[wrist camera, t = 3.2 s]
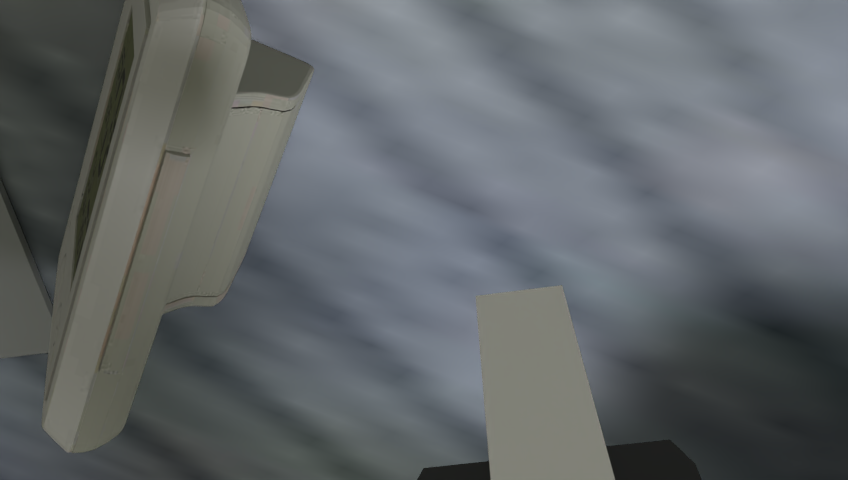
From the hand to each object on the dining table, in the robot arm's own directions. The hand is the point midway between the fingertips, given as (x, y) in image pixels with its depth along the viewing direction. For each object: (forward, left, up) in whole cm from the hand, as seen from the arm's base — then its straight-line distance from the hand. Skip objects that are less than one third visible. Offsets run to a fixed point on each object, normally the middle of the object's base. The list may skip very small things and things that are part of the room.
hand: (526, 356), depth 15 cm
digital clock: (+12, 0, -19) cm, 22 cm away
